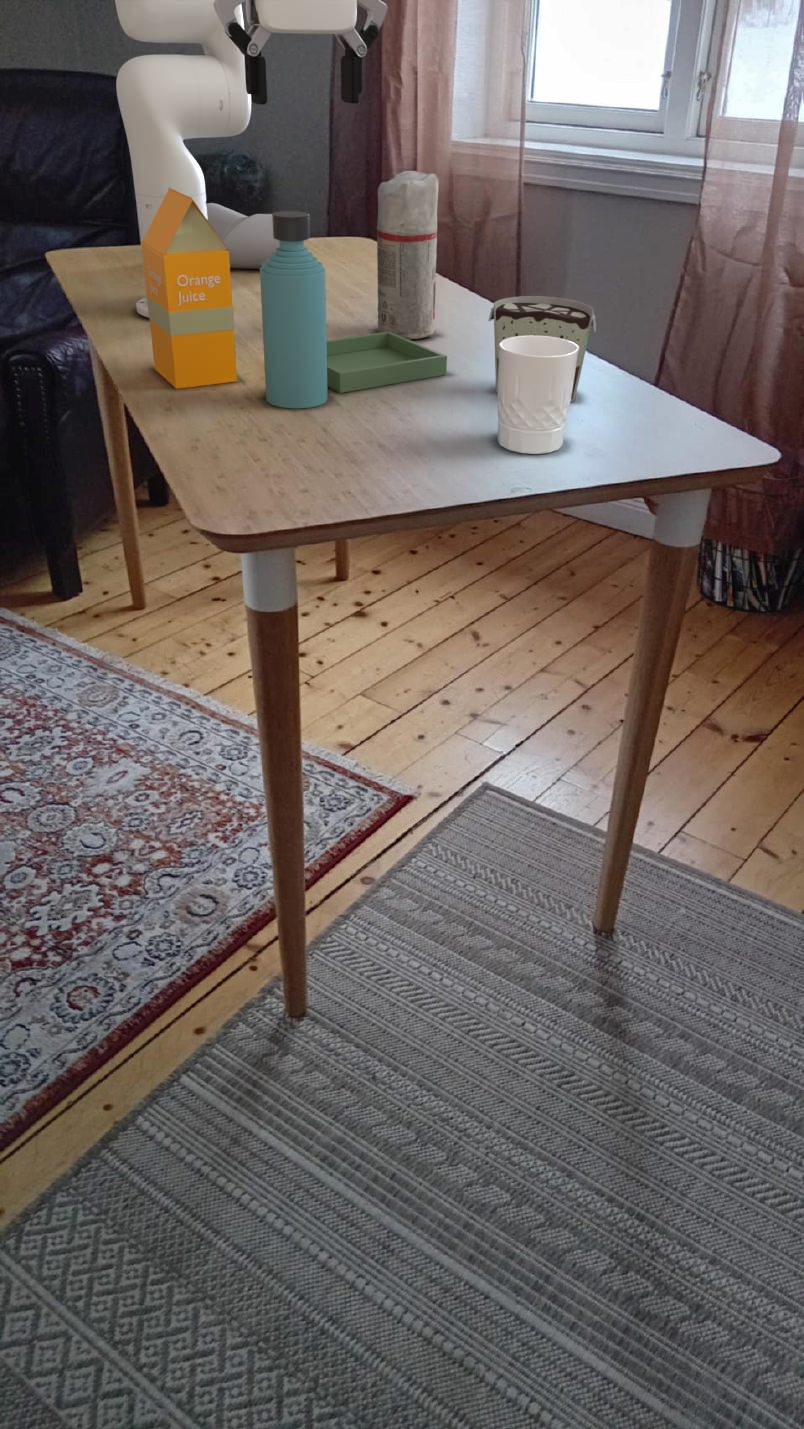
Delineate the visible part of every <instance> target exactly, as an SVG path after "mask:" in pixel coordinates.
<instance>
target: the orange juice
mask: <svg viewBox="0 0 804 1429" xmlns="http://www.w3.org/2000/svg"><path fill="white" fill-rule="evenodd" d="M168 188H169V187H168ZM141 245H142V251H141V255H142V254H143V261H142V264H143V263H144V270H143V274H144V273H145V279H144V283H145V282H146V288H145V292H146V291H147V304H148V314H149V318H148V319H149V327H150V336H151V346H152V355H153V366H154V370H155V371H156V372H157V373H159V375H161V376H162V378H164V379H165V380H166V382H168V383H169V384H171V386H173V387H174V388H175V389H176V390H178V389H187V388H194V387H201V386H202V387H203V386H210V385H218V384H227V383H233V382H238V374H237V373H238V372H237V371H238V370H237V359H236V358H237V357H236V344H235V340H236V339H235V321H234V320H235V319H234V307H233V297H232V281H231V268H230V263H229V252H230V251H229V250H228V248H227V247H226V246H225V244H224V243H223V241H222V240H221V239H220V237H219V236H218V234H217V233H216V232H215V230H214V229H213V227H212V226H211V225H210V223H209V222H208V220H207V219H206V218H205V216H204V215H203V213H202V212H201V210H200V209H199V208H198V206H197V205H196V203H195V202H194V201H193V199H192V198H190V197H188V196H186V195H184V194H182V193H179V192H177V191H175V190H173V189H171V188H169V189H168V191H167V193H166V195H165V197H164V199H163V201H162V203H161V205H160V207H159V209H158V211H157V213H156V215H155V217H154V219H153V221H152V223H151V225H150V227H149V229H148V231H147V233H146V235H145V237H144V239H143V241H141V242H140V246H141Z"/></svg>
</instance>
